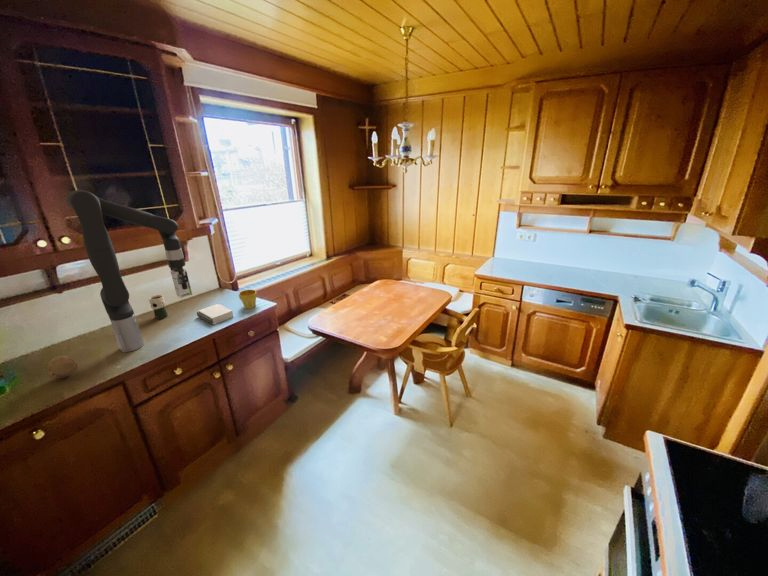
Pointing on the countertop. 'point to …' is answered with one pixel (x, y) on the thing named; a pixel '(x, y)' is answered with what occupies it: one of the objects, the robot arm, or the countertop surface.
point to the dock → (215, 314)
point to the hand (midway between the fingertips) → (182, 287)
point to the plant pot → (248, 298)
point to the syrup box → (180, 285)
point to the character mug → (158, 306)
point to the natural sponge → (61, 367)
